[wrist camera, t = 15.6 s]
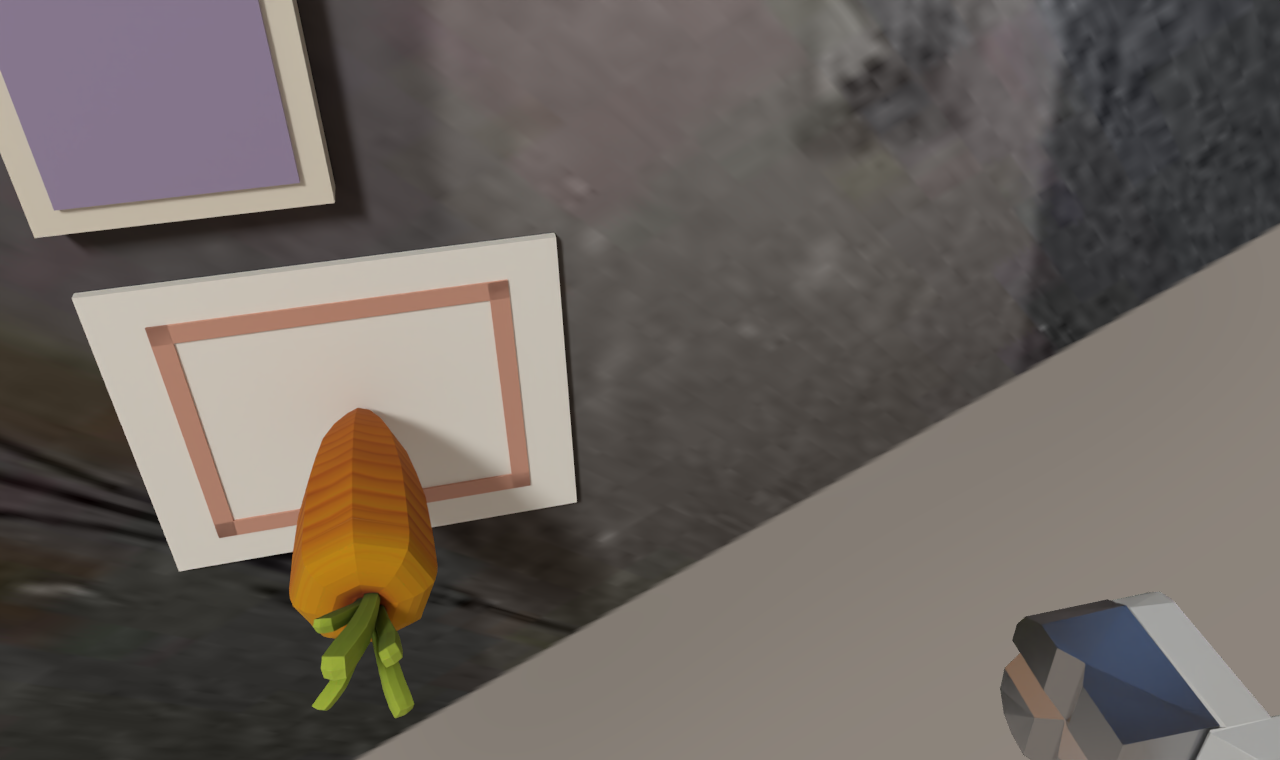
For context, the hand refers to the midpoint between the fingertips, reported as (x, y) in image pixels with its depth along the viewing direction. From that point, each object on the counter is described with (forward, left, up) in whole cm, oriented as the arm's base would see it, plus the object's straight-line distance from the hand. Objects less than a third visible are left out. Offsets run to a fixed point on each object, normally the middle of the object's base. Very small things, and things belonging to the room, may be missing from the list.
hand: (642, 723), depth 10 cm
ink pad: (+10, +1, -31) cm, 32 cm away
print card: (+6, +17, -31) cm, 35 cm away
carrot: (+5, +17, -30) cm, 35 cm away
